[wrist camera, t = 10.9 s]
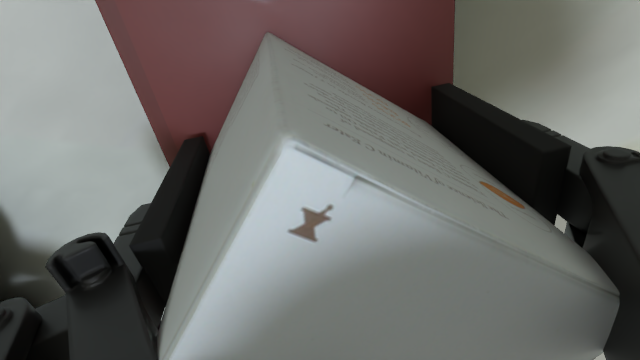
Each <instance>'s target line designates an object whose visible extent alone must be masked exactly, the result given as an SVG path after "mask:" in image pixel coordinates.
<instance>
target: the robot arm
mask: <svg viewBox="0 0 640 360" xmlns="http://www.w3.org/2000/svg"><path fill="white" fill-rule="evenodd" d="M431 112H432V127H433V128H435V129H436V130H437V131H438V132H439V133H441V134H442V135H443V136H444V137H446V138H447V139H448V140H449V141H451V142H452V143H453V144H454V145H455V146H457V147H458V148H459V149H460V150H461V151H463V152H464V153H465V154H466V155H468V156H469V157H470V158H471V159H472V160H474V161H475V162H476V163H477V164H479V165H480V166H481V167H482V168H484V169H485V170H486V171H487V172H488V173H490V174H491V175H492V176H493V177H495V178H496V179H497V180H498V181H500V182H501V183H502V184H503V185H505V186H506V187H507V188H508V189H509V190H511V191H512V192H513V193H514V194H516V195H517V196H518V197H519V198H521V199H522V200H523V201H524V202H526V203H527V204H528V205H529V206H531V207H532V208H533V209H534V210H536V211H537V212H538V213H539V214H540V215H542V216H543V217H544V218H545V219H547V220H548V221H549V222H550V223H552V224H553V225H555V220H556V216H557V214H558V215H560V216H561V217H562V218H563V219H565V220H566V221H567V225H566V229H565V233H564V234H565V235H566V236H568V237H569V238H570V239H571V240H573V241H574V242H575V243H576V244H578V245H579V246H580V247H581V248H583V249H584V250H585V251H586V252H587V253H589V254H590V255H591V256H592V258H593V259H594V260H595V261H596V262H597V263H598V265H599V266H600V267H601V268H602V270H603V271H604V272H605V273H606V275H607V276H608V277H609V278H610V280H611V281H612V282H613V284H614V285H615V286H616V288H617V289H618V291H619V293H620V295H619V301H620V305H619V309H618V312H617V315H616V318H615V321H614V323H613V326H612V329H611V331H610V334H609V337H608V339H607V342H606V344H605V347H604V349H603V352H604V355H605V358H606V360H640V153H639V152H637V151H634V150H631V149H626V148H621V147H609V146H606V147H595V148H592V149H590V148H588V147H585V146H583V145H581V144H579V143H577V142H575V141H573V140H571V139H569V138H567V137H565V136H561V134H559V133H557V132H555V131H551V129H549V128H547V127H545V126H543V125H541V124H539V123H535V122H530V121H526V120H520V119H518V118H516V117H514V116H512V115H510V114H508V113H506V112H505V111H503V110H501V109H499V108H497V107H495V106H493V105H491V104H489V103H487V102H485V101H483V100H481V99H479V98H477V97H475V96H473V95H471V94H470V93H468V92H466V91H464V90H462V89H460V88H458V87H456V86H454V85H452V84H450V83H446V84H442V85H437V86H432V87H431ZM209 156H210V153H209V151H208V148H207V145H206V143H205V140H204V137H203V136H200V137H196V138H191V139H186V140H184V142H183V143H182V145H181V147H180V149H179V151H178V153H177V155H176V157H175V159H174V161H173V163H172V164H171V166H170V168H169V170H168V172H167V174H166V176H165V178H164V180H163V182H162V184H161V185H160V187H159V189H158V191H157V193H156V195H155V197H154V199H153V201H152V203H150V204H145V205H141V206H140V207H139V208H138V209H137V210H136V211H135V212H133V213H132V214H131V215H130V217H129V218H128V220H127V222H126V223H125V225H124V228H122V230H121V232H120V234H119V236H118V237H117V239H116V240H115V242H114V244H113V243H112V241H111V239H110V238H109V237H108V236H107V235H106V234H105V233H93V234H87V235H85V236H82V237H79V238H77V239H75V240H73V241H71V242H69V243H67V244H65V245H64V246H63V247H61V248H60V249H58V250H57V251H56V252H55V253H54V254H53V255H52V256H51V257H50V258H49V259H48V261H47V263H46V266H45V267H46V268H47V270H48V271H49V272H50V273H51V275H52V276H53V277H54V278H55V280H56V281H57V282H58V284H59V285H60V286H61V287H62V289H63V290H64V291H65V292H66V295H65V296H63V297H61V298H58V299H56V300H54V301H52V302H49V303H47V304H45V305H42V306H40V307H38V308H35V309H34V307H33V306H32V305H31V304H30V303H29V302H28V301H27V300H26V299H25V298H18V297H16V298H12V299H8V300H5V301H3V302H0V360H158V356H157V335H158V331H159V328H160V324H161V318H162V315H163V311H164V308H165V307H166V304H167V301H168V297H169V294H170V291H171V287H172V284H173V281H174V278H175V274H176V271H177V268H178V264H179V260H180V257H181V253H182V250H183V246H184V243H185V239H186V236H187V232H188V229H189V225H190V222H191V218H192V215H193V212H194V208H195V205H196V201H197V198H198V194H199V191H200V187H201V184H202V180H203V177H204V173H205V170H206V167H207V163H208V160H209Z"/></svg>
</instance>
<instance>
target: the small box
mask: <svg viewBox="0 0 640 360" xmlns="http://www.w3.org/2000/svg"><path fill="white" fill-rule="evenodd" d="M619 295H620V293H619V291H618V289H617V288H616V286H615V285H614V284H613V282H612V281H611V280H610V278H609V277H608V276H607V275H606V273H605V272H604V271H603V270H602V268H601V267H600V266H599V265H598V263H597V262H596V261H595V260H594V259H593V258H592V256H591V255H590V254H589V253H587V252H586V251H585V250H584V249H583V248H581V247H580V246H579V245H578V244H576V243H575V242H574V241H573V240H571V239H570V238H569V237H568V236H566V235H565V234H563V232H561V231H560V230H559V229H558V228H556V227H555V226H554V225H553V224H552V223H550V222H549V221H548V220H547V219H545V218H544V217H543V216H542V215H540V214H539V213H538V212H537V211H536V210H534V209H533V208H532V207H531V206H529V205H528V204H527V203H526V202H524V201H523V200H522V199H521V198H519V197H518V196H517V195H516V194H514V193H513V192H512V191H511V190H509V189H508V188H507V187H506V186H505V185H503V184H502V183H501V182H500V181H498V180H497V179H496V178H495V177H493V176H492V175H491V174H490V173H488V172H487V171H486V170H485V169H484V168H482V167H481V166H480V165H479V164H477V163H476V162H475V161H474V160H472V159H471V158H470V157H469V156H468V155H466V154H465V153H464V152H463V151H461V150H460V149H459V148H458V147H457V146H455V145H454V144H453V143H452V142H451V141H449V140H448V139H447V138H446V137H444V136H443V135H442V134H441V133H439V132H438V131H437V130H436V129H435V128H433V127H432V126H431V125H430V124H428V123H427V122H426V121H424V120H422V119H420V118H418V117H416V116H414V115H413V114H411V113H409V112H407V111H406V110H404V109H402V108H400V107H399V106H397V105H395V104H393V103H392V102H390V101H388V100H386V99H385V98H383V97H381V96H379V95H378V94H376V93H374V92H372V91H370V90H369V89H367V88H365V87H363V86H362V85H360V84H358V83H356V82H355V81H353V80H351V79H349V78H348V77H346V76H344V75H342V74H341V73H339V72H337V71H335V70H334V69H332V68H330V67H328V66H326V65H325V64H323V63H321V62H319V61H318V60H316V59H314V58H312V57H311V56H309V55H307V54H305V53H304V52H302V51H300V50H298V49H297V48H295V47H293V46H292V45H290V44H288V43H286V42H285V41H283V40H281V39H280V38H278V37H276V36H275V35H273V34H271V33H269V32H268V33H266V34H265V35H264V38H263V40H262V42H261V44H260V47H259V49H258V51H257V53H256V55H255V57H254V60H253V62H252V64H251V66H250V68H249V70H248V72H247V74H246V77H245V79H244V81H243V83H242V85H241V87H240V90H239V92H238V94H237V96H236V98H235V100H234V103H233V105H232V107H231V109H230V111H229V113H228V116H227V118H226V120H225V122H224V124H223V127H222V129H221V131H220V133H219V135H218V138H217V140H216V142H215V144H214V146H213V148H212V151H211V153H210V156H209V160H208V163H207V167H206V170H205V173H204V177H203V180H202V184H201V187H200V191H199V194H198V198H197V201H196V205H195V208H194V212H193V215H192V218H191V222H190V225H189V229H188V232H187V236H186V239H185V243H184V246H183V250H182V253H181V257H180V260H179V264H178V268H177V271H176V274H175V278H174V281H173V284H172V287H171V291H170V294H169V297H168V301H167V304H166V307H165V311H164V314H163V317H162V321H161V324H160V328H159V331H158V335H157V356H158V360H594V359H595V358H596V357H597V356H599V355H600V354H602V353H603V349H604V347H605V344H606V342H607V339H608V337H609V334H610V331H611V329H612V326H613V323H614V321H615V318H616V315H617V312H618V309H619V305H620V301H619Z"/></svg>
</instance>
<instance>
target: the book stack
mask: <svg viewBox="0 0 640 360" xmlns="http://www.w3.org/2000/svg"><path fill="white" fill-rule="evenodd" d="M95 1H96V3H97V6H98V8H99V10H100V12H101V14H102V17H103V19H104V21H105V23H106V26H107V28H108V30H109V32H110V35H111V37H112V39H113V41H114V44H115V46H116V48H117V50H118V52H119V55H120V57H121V59H122V61H123V64H124V66H125V68H126V70H127V73H128V75H129V77H130V79H131V82H132V84H133V86H134V88H135V90H136V93H137V95H138V97H139V99H140V102H141V104H142V106H143V108H144V111H145V113H146V115H147V117H148V120H149V122H150V124H151V126H152V128H153V131H154V133H155V135H156V137H157V140H158V142H159V144H160V146H161V149H162V151H163V153H164V155H165V158H166V160H167V162H168V164H169V166H171V164H172V163H173V161H174V159H175V157H176V155H177V153H178V151H179V149H180V147H181V145H182V143H183V142H184V140H186V139H191V138H196V137H200V136H203V137H204V140H205V143H206V145H207V148H208V151H209V153H211V151H212V148H213V146H214V144H215V142H216V140H217V138H218V135H219V133H220V131H221V129H222V127H223V124H224V122H225V120H226V118H227V116H228V113H229V111H230V109H231V107H232V105H233V103H234V100H235V98H236V96H237V94H238V92H239V90H240V87H241V85H242V83H243V81H244V79H245V77H246V74H247V72H248V70H249V68H250V66H251V64H252V62H253V60H254V57H255V55H256V53H257V51H258V49H259V47H260V44H261V42H262V40H263V38H264V35H265V34H266V33H268V32H269V33H271V34H273V35H275V36H276V37H278V38H280V39H281V40H283V41H285V42H286V43H288V44H290V45H292V46H293V47H295V48H297V49H298V50H300V51H302V52H304V53H305V54H307V55H309V56H311V57H312V58H314V59H316V60H318V61H319V62H321V63H323V64H325V65H326V66H328V67H330V68H332V69H334V70H335V71H337V72H339V73H341V74H342V75H344V76H346V77H348V78H349V79H351V80H353V81H355V82H356V83H358V84H360V85H362V86H363V87H365V88H367V89H369V90H370V91H372V92H374V93H376V94H378V95H379V96H381V97H383V98H385V99H386V100H388V101H390V102H392V103H393V104H395V105H397V106H399V107H400V108H402V109H404V110H406V111H407V112H409V113H411V114H413V115H414V116H416V117H418V118H420V119H422V120H424V121H426V122H427V123H428V124H430V125H431V126H432V112H431V87H432V86H437V85H442V84H446V83H450V84H452V85H453V60H454V18H455V0H95Z"/></svg>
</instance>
